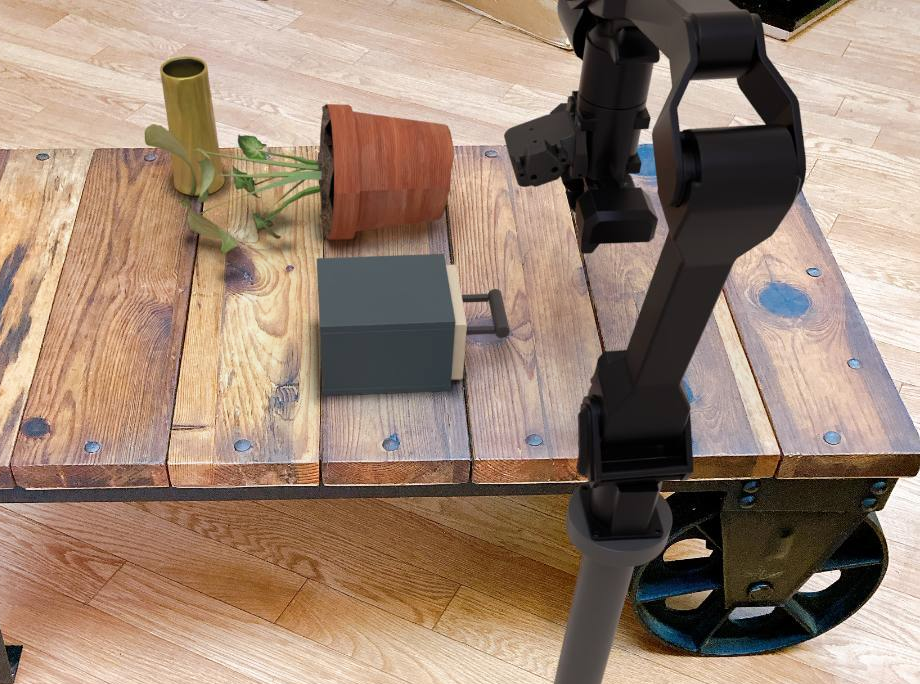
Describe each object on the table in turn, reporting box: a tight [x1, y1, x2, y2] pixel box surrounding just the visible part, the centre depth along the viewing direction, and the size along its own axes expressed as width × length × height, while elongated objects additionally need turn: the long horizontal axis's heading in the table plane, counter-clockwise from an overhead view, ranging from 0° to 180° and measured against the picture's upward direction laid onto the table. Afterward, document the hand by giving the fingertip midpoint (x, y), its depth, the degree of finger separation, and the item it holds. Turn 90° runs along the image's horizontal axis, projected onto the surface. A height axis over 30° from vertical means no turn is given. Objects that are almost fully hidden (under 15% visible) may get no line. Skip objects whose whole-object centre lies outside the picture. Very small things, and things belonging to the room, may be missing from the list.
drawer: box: [446, 264, 511, 381], centre depth 109 cm, size 16×9×7 cm, turn 94°
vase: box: [159, 55, 226, 197], centre depth 127 cm, size 6×6×14 cm
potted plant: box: [144, 103, 455, 255], centre depth 121 cm, size 16×15×35 cm
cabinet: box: [316, 253, 455, 397], centre depth 109 cm, size 13×11×9 cm
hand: (585, 251), depth 104 cm, fingers closed
